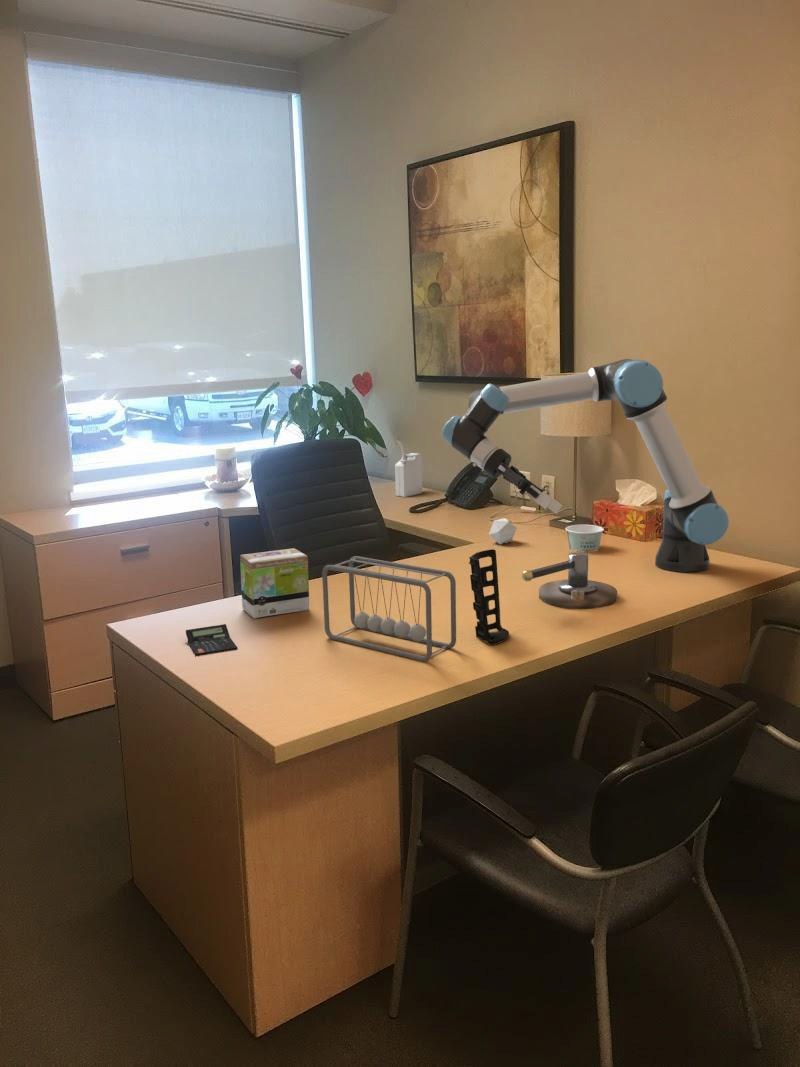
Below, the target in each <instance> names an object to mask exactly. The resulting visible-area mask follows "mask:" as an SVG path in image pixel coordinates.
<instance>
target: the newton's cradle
mask: <svg viewBox="0 0 800 1067" xmlns="http://www.w3.org/2000/svg"><path fill="white" fill-rule="evenodd" d="M347 563H348V566H344V565H345V564H347ZM355 563H360V564H362V565H359V566H356V567H354V564H355ZM366 565H372V566H375V567H372V568H370V569H368V566H366ZM362 566H366V569H362V568H361V569H360V568H359V567H362ZM381 567H383V568H388V569H387V570H384V571H382V572H381V570H379V571H372V570H373V569H375V568H381ZM391 570H392V574H389V573H386V572H388V571H391ZM395 570H401V572H399V573H398V574H394V572H395ZM328 571H334V572H340V573H345V574H348V583H349V589H348V590H349V607H350V609H349V610H350V613H349V614H350V621H351V624H352V625H353V626H354V627H351V628H349V629H347V630H345V631H342V632H340V633H338V634H333V633H332V632H331V629H330V628H331V627H330V611H329V610H330V608H329V587H328V586H329V585H328ZM405 572H406V575H408V572H412V573H417V574H415V575H413V576H409V577H408V576H401V575H400V574H403V573H405ZM423 574H424V575H429V576H434V577H431V578H430V579H428V580H424V579H422V577H423ZM321 575H322V576H321V577H322V598H323V621H324V622H323V623H324V631H325V634H326V636H327V637H328V638H329V639H331V640H333V641H337V642H341V643H346V644H350V645H354V646H357V647H362V648H366V649H371V650H375V651H379V652H382V653H387V654H391V655H395V656H399V657H403V658H407V659H411V660H415V661H418V662H419V661H420V662H428V661H429V660H431V658H432V656H433V655H435V654H436V653H439V652H441V651H442V650H445V649H452V648H454V647H455V646H456V643H457V593H456V591H457V589H456V588H457V587H456V586H457V585H456V584H457V582H456V579H455V576H454V575H453V573H451V572H450V571H447V570H442V569H435V568H430V567H423V566H416V565H411V564H407V563H406V564H405V563H400V562H393V561H387V560H382V559H381V560H380V559H376V558H375V559H374V558H370V557H366V556H365V557H364V556H358V555H355V556H354V555H353V556H352V557H350V559H348V560H345V561H342V562H340V563H337V564H327V565H325V566H323V569H322V571H321ZM399 575H400V576H399ZM418 575H420V579H417V578H413V577H416V576H418ZM356 576H361V577H365V582H364V588H366V584H368V590H369V594H370V601H371V607H372V613H373V615H371V616H370V615H369V614H368V613H367V612H364V610H365V609H364V608H365V601H363V604H362V609H361V604H360V603H361V602H360V596H359V591H358V585H357V579H356ZM442 577H447V578H448V579H449V581H450V584H449V585H450V586H449V587H450V642H449V643H447V642H443V641H442V642H441V641H437V640H433V638H432V637H433V636H432V635H433V634H432V632H433V630H432V628H433V627H432V626H433V625H432V590H431V588H430V586H429V584H428V583H429V582H432V581H434V580H436V579H440V578H442ZM369 578H371V579H377V580H380V581H378V586H377V591H379V590H380V588H379V587H380V583H381V587H382V595H383V602H384V607H385V614H386V618H384V619H383V618H382V617H381V616H380V615H377V612H378V604H376V606H375V611H374V605H373V600H372V599H373V598H372V593H371V588H370V582H369V581H370V580H369ZM383 581H387V582H391V587H393V584H394V585H395V586H394V587H395V592H396V598H397V599H396V600H397V606H398V612H399V618H400V620H399V621H396V620H395V619H393V618H392V617H391V611H389V612H388V611H387V610H388V609H387V606H386V605H387V604H386V599H385V593H384V586H383ZM367 582H368V583H367ZM397 583H400V584H405V586H407V585H408V586H409V591H410V600H411V603H412V609H413V616H414V622H415V624H413V625H412V626H411V625H410V623H409V622H407V621H405V620H404V616H405V610H403V612H402V616H401V610H400V604H399V602H400V601H399V597H398V596H399V595H398V591H397ZM411 586H415V587H419V595H421V592H422V590H421V589H422V588H423V590H424V592H425V626H424V625H422V624H419V621H420V612H418V614H417V615H418V616H417V620H416V614H415V608H414V602H413V600H414V599H413V595H412V591H411ZM355 588H356V593H357V599H358V606H359V610H360V612H358V613H357V614H356V603H355V602H356V600H355V598H356V597H355ZM390 589H391V592H390V598H392V596H393V588H390ZM363 591H364V594H363V599H365V597H366V590H363ZM406 595H407V587H405V590H404V597H407V596H406ZM378 600H379V593H377V596H376V603H378ZM403 602H404V603H403V608H405V607H406V606H405V605H406V599H404V601H403ZM389 603H390V604H389V609H392V608H391V607H392V600H390V602H389ZM420 606H421V597H419V601H418V610H420ZM388 613H389V616H388ZM355 629H359V630H364V631H369V632H373V633H377V634H382V635H386V636H391V637H395V638H399V639H404V640H408V641H413V642H417V643H421V644H425V645H426V654H425V656H424V655H419V654H415V653H411V652H407V651H403V650H399V649H395V648H390V647H388V646H387V647H386V646H382V645H378V644H374V643H369V642H365V641H361V640H357V639H354V638H350V637H349V638H348V637H345V636H342V635H343V634H346V633H348V632H351V631H353V630H355ZM425 637H426V638H425ZM433 646H434V647H438V648H439V649H437V650H435V651H433Z"/></svg>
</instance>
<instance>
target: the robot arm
mask: <svg viewBox="0 0 800 1067" xmlns="http://www.w3.org/2000/svg"><path fill="white" fill-rule="evenodd" d="M587 400H592V401H594V402H596V403H597V402H604V401H605V402H606V401H611V402H612V401H615V402H618V404H619V406H620V408H621V410H622V412H623V414H624V416H625V418H626V419H627V420H630V421H633V422H634V424H635V425H636V428H637V429H638V432H639V433H640V435H641V437H642V439H643V442H644V444H645V446H646V447H647V450H648V452H649V454H650V456H651V458H652V460H653V463H654V465H655V466H656V468H657V470H658V472H659V475H660V476H661V479H662V480H663V483H664V484H665V486H666V490H665V491H664V497H663V499H662V500H663V501H662V502H663V514H662V515H663V516H662V517H663V518H662V519H663V520H662V539H661V542H660V545H659V546H658V550H657V552H656V554H655V560H654V562H655V563H654V565H655V566H656V567H658V568H660V569H663V570H666V571H670V572H671V571H672V572H683V573H693V572H694V573H695V572H702V571H706V570H708V569H709V568H710V560H711V559H710V556H709V553H708V552H709V551H708V549H707V546H706V545H711V544H714V543H716V542H719V541H720V540H721V539H722V538H723V537H724V535H725V534H726V532H727V531H728V528H729V524H730V520H729V518H730V517H729V515H728V513H727V511H726V509H724V507H723V506H722V505H720V504H719V503H718V501H717V500H716V497H715V494H714V493H713V490H712V489H711V487H710V486H708V485H706V484H703V483H702V482H701V480H700V478H699V475H698V474H697V471H696V469H695V467H694V464H693V463H692V461H691V459H690V456H689V454H688V452H687V450H686V448H685V446H684V445H683V444H684V443H683V441H682V440H681V438H680V436H679V434H678V432H677V429H676V427H675V425H674V423H673V421H672V419H671V416H670V414H669V412H668V411H667V409H666V408H667V407H666V404H667V402H668V397H667V395H666V392H665V390H664V381H663V377H662V373H661V372H660V370H659V369H658V368H657V367H656V366H655V365H653V364H652V363H650V362H648V361H646V360H643V359H631V358H627V359H626V358H624V359H621V360H617V361H613V362H610V363H606V364H603V365H598V366H592V367H590V368H589V369H588V371H585V372H579V373H573V374H568V375H563V376H562V375H561V376H557V377H551V378H546V379H538V380H535V381H534V380H533V381H527V382H522V383H516V384H509V385H504V386H499V387H497V386H495V385H494V384H493V383H488V384H487V385H485V387H484V388H481V389H477V390H475V391H473V392H472V393H471V394H470V396H469V398H468V404H467V407H468V409H467V411H466V412H465V413H464V414H463V415H462V416H460V415H454V416H451V418H450V419H448V421H446V423H445V424H444V426H443V427H442V431H441V436H442V438H443V439H444V441H445V442H447V443H448V444H449V445H450V446H451V447H452V448H454V450H456V451H457V452H459V453H460V454H461V455H462V456H464V457H465V458H467V459H468V460H469V461H471V462H472V466H473V467H478V468H480V469H481V470H483V471H484V472H485V473H486V474H487V475H488V476H490V477H491V478H492V479H497V478H499V477H501V476H503V477H502V478H503V479H504V480H505V481H507V482H509V483H510V484H511V485H513V486H515V487H516V488H517V489H518V490H520V491H519V493H520V494H521V495H523V496H524V494H525V495H527V496H528V497H529V498H530V499H532V500H533V501H534V502H535V503H537V504H538V505H539V506H540V507H541V508H543V509H544V510H547V508H548V509H549V510H550V511H552V512H553V513H554V514H555V515H557V514H558V513H559V511H561V510H562V508H563V506H564V505H562V504H561V503H560V502H558V501H557V500H556V499H554V498H553V497H552V496H551V495H549V494H548V493H547V492H546V488H544V487H542V488H540V487H539V486H537V485H536V484H534V482H532V481H530V480H529V479H528V478H527V476H526V475H525V474H524V473H522V472H521V471H520V469H518V468H517V467H515V466H514V465H511V466H510V464H511V462H512V455H511V454H510V453H508V452H507V451H506V450H504V449H503V448H500V445H498V444H496V443H495V441H493V440H492V439H490V438H488V437H487V436H486V433H487V431H488V430H489V429H490V428H491V426H492V425H493V424H494V422H495V421H496V420H497V419H498V417H499V416H500V415H504V414H510V413H516V412H521V411H526V410H533V409H539V408H545V407H546V408H547V407H552V406H556V405H558V406H559V405H564V404H568V403H575V402H581V401H582V402H583V401H587Z"/></svg>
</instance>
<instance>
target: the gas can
mask: <svg viewBox="0 0 800 1067" xmlns="http://www.w3.org/2000/svg"><path fill="white" fill-rule="evenodd" d="M396 442H397V443H398V446H399V447H400V450H401V459H399V460H398V461H397V462H396V463H394V464H395V465H394V477H395V478H394V481H395V484H394V486H395V496H396V497H400V498H407V497H412V496H415V495H419V494H422V493H423V463H422V462H423V458H422V457H423V456H422V454H421V453H417V452H411V453H408V454H407V453H405V450H404V446H403V443H402V442H401V441H400V439H396Z"/></svg>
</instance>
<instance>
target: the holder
mask: <svg viewBox="0 0 800 1067" xmlns="http://www.w3.org/2000/svg"><path fill="white" fill-rule="evenodd" d="M483 558H484V559H485V558H491V560H490V561H491V564H490V565H487V566H481V564H480V559H483ZM468 559H469V561H468V564H469V565H470V569H471V570H470V571H471V574H470V585H471V591H472V592H473V598H474V602H472V608H473V609H472V610H474V612H475V617H476V619H477V621H476V625H475V626H474V628H475V637H476V638H477V637H478V639H479V640H481V641H483V642H486V643H487V644H488V645H489V646H494V645H497V644H499V643H502V642H503V641H505V640H507V639H508V638H509V637H510V631H509V630H508V629H506V628H504V627H502V625H501V624H502V623H501V606H500V604H501V603H500V591H499V577H498V576H499V575H498V560H497V551H496V549H494V548H493V549H485V550H482V551H481V550H480V551H477V552H475V553H474V554H472V555H471V556H469V557H468ZM489 572H492V579H490V580H488V577H487V575H488V574H487V573H489ZM488 587H493V593H492V594H488V595H485V593H484V588H488ZM490 601H493V602H494V608H490V605H489V604H490ZM491 615H493V616H494V615H495V621H494V622H492V623H489V621H488V616H491ZM492 630H497V632H496V631H495V632H494V631H493V632H492ZM490 631H491V632H490Z"/></svg>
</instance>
